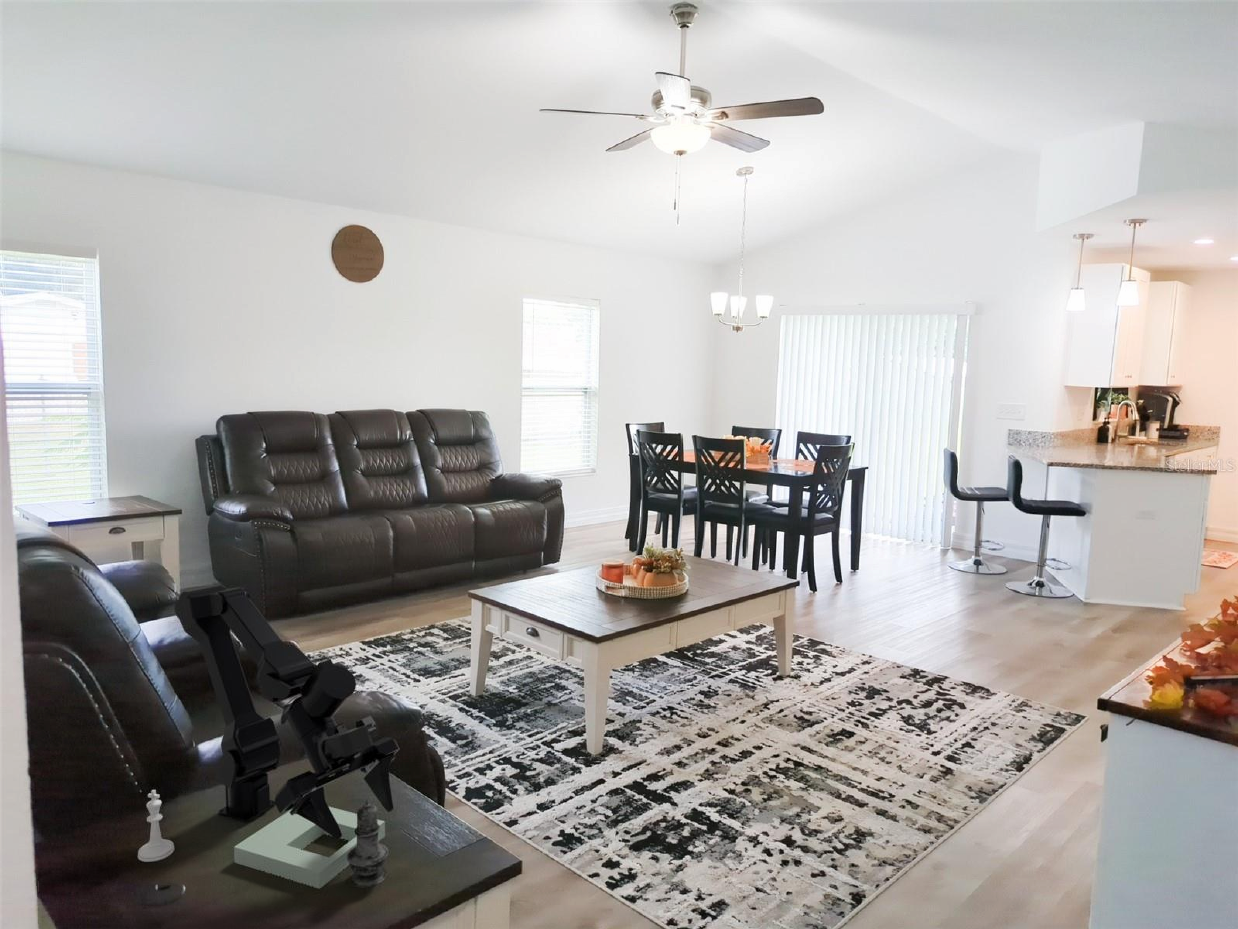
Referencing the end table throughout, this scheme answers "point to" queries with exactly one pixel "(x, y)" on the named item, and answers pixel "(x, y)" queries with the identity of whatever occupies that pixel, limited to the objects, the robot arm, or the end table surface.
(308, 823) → the socket board
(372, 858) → the grey stone chess bishop
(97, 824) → the end table surface
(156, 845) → the chess piece
